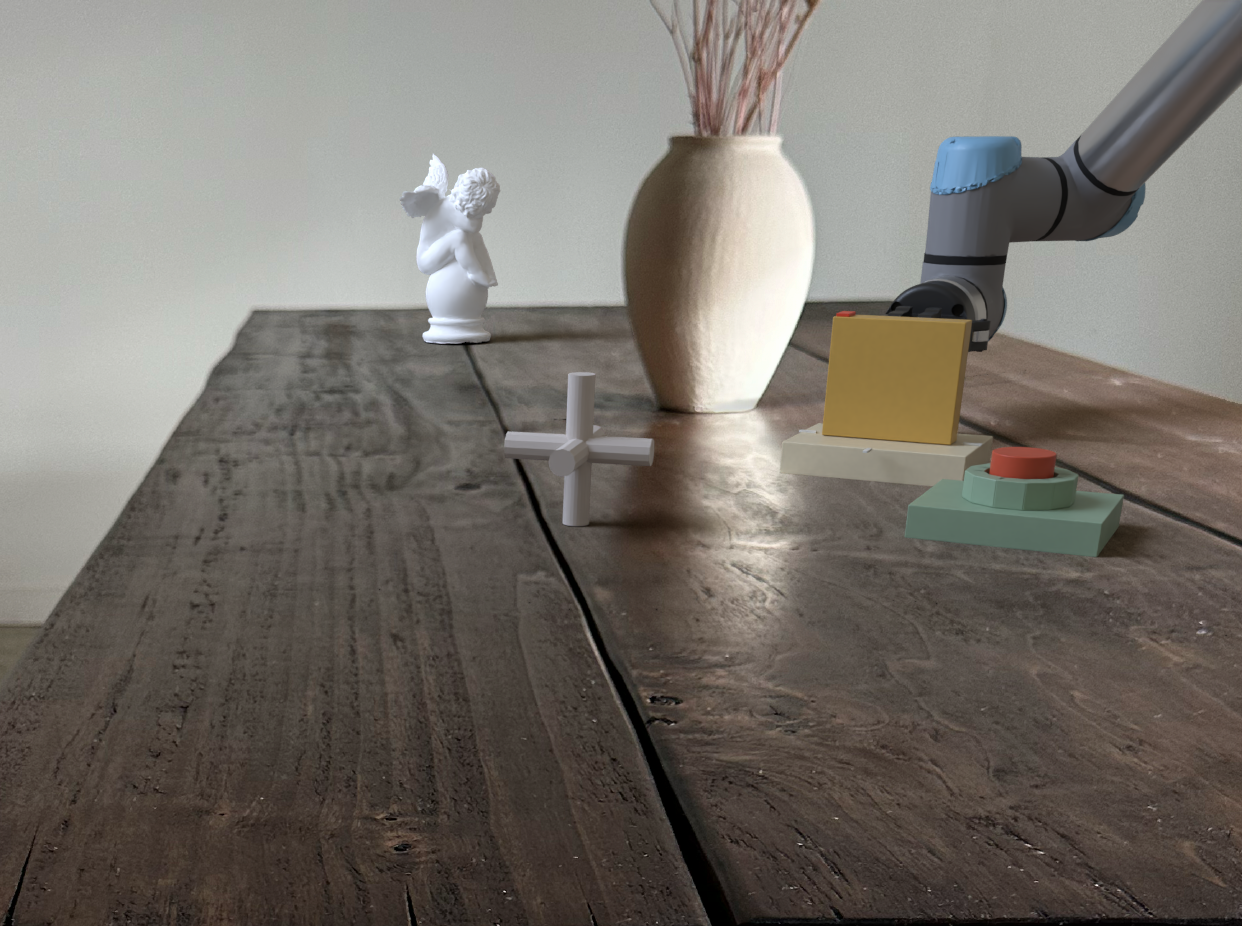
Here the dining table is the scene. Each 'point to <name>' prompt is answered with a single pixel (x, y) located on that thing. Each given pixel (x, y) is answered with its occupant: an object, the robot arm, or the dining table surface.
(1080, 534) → the button box
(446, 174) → the cherub figurine
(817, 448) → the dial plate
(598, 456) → the pipe connector
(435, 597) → the dining table surface
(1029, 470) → the button
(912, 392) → the tan flat block
